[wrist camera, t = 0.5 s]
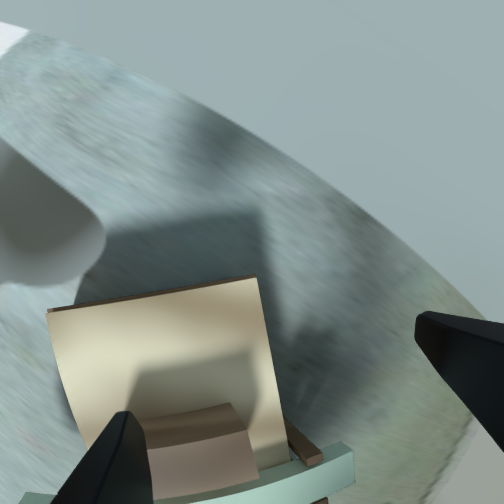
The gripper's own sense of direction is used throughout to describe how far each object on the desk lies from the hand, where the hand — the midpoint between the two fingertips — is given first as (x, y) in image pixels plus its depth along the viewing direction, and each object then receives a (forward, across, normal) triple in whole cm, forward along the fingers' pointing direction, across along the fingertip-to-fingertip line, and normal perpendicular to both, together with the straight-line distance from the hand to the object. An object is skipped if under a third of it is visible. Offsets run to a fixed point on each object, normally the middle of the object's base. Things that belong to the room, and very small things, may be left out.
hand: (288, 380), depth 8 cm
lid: (+6, +5, +7) cm, 11 cm away
